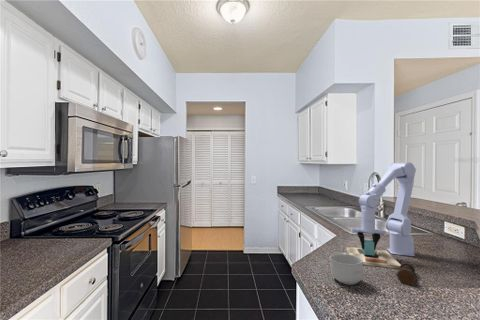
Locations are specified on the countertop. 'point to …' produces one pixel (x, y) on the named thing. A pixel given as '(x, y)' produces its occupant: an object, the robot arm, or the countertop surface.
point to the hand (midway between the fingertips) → (368, 249)
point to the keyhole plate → (381, 261)
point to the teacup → (346, 268)
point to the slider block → (368, 247)
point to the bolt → (406, 273)
